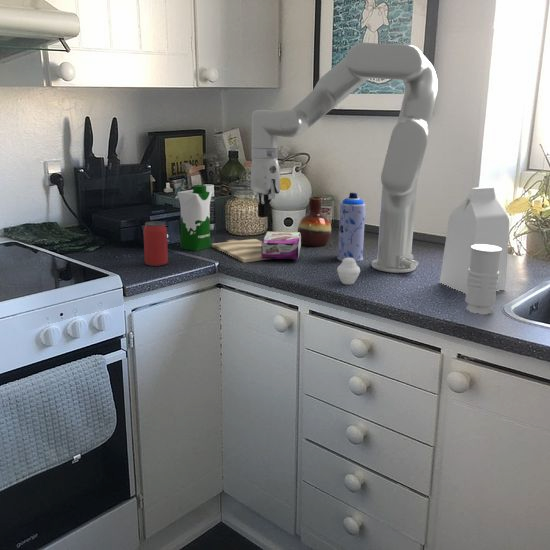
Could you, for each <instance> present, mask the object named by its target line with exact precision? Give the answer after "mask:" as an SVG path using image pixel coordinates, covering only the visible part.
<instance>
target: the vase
mask: <svg viewBox="0 0 550 550" xmlns="http://www.w3.org/2000/svg"><path fill="white" fill-rule="evenodd" d="M308 198H309V199H308V201H309V203H308V204H309V212H308V213H307V214H305V215H304V216H303V217H302V218H301V219H300V220H299V223H298V225H297V232H301V245H304V246H307V247H323V246H325V245H327V244H328V242H329V241H330V239H331V236H332V235H331V234H332V225H331V222H330V221H329V219H328V218H327V217H326V216H325V215H324V214H322V203H323V201H322V200H323V198H322V197H321V196H311V197H308Z"/></svg>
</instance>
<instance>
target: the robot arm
mask: <svg viewBox="0 0 550 550" xmlns="http://www.w3.org/2000/svg"><path fill="white" fill-rule="evenodd" d="M369 79H385V80H397V81H398V80H401V81H403V83H404V94H403V98H402V102H401V107H400V111H399V116H398V118H397V121H396V124H395V125H394V127H393V129H392V132H391V133H390V138H389V140H388V141H389V142H388V145H387V150H386V154H385V158H384V162H383V166H382V169H381V174H380V182H381V185H382V187H381V188H382V189H381V199H380V200H381V201H380V212H379V226H378V227H379V229H378V230H379V231H378V243H377V257H376V259H373V260H372V261H371V267H372V268H373V269H374V270H376V271H381V272H385V273H396V274H399V273H400V274H401V273H410V272H413V271H415V270H416V267H418V265H419V261H417V260H414V254H412V249H413V237H414V224H415V223H414V222H415V212H416V202H417V191H418V180H419V175H420V173H421V168H422V165H423V161H424V158H425V155H426V153H425V152H426V150H427V146H428V143H429V136H430V135H429V129H430V125H431V121H432V118H433V113H434V110H435V104H436V100H437V95H438V85H439V84H438V77H437V73H436V70H435V68H434V66H433V64H432V63H431V61H429V59H428V58H427V57H426V55H424V54H423V52H422V51H421V50H420V49H419V47H417V46H415V45H412V44H403V43H401V44H399V43H398V44H396V43H375V42H358V43H356V44H354V45H353V46H352V47H350V49H349V50H348V52H347V54H346V56H344V58H343V59H341V60H340V61H339V62H338V63H337V64H336V65H334V66H333V67H332V68H330V69H329V70H328V71H327V72H326V73H325V74H323V75H322V76H321V77H320V78H319V79H318V81H317V82H316V85H315V86H314V88H313V89H312V90H311V92H310V93H309V94H307V95H306V97H304V98H303V99H302V100H301V101H300V102H299V103H298V104H296V105H295V106H294V107H293V108H292V109H284V110H277V111H276V110H274V109H272V110H271V109H256V110H254V111H253V112H252V113H251V160H252V161H251V166H250V167H251V170H250V189H251V191H253V195H255V197H256V203H258V204H257V216H258V217H259V218H268V217H270V216H271V203H272V200H274V199H276V195H277V194H280V192H281V175H280V164H279V160H278V154H279V153H278V148H279V147H278V146H279V145H278V144H279V143H278V142H279V140H278V139H279V137H283V138H295V137H298V136H300V135H302V134H304V133H305V132H307V130H309V129H310V128H311V127H313V126H314V125H315V124H316V123H317V122H318V121H320V120H321V119H322V118H323V117H324V116H326V114H328V113H329V112H330V111H331V110H333V109H334V108H336V107H337V106H338V105H339V104H340V103H341V102H343V101H344V100H345V99H346V98H348V97H349V96H350V95H351V94H352V93H353V92H354V91H356V90H357V89H358V88H360V86H362V85H363V84H365V83H366V82H367V81H368V80H369Z"/></svg>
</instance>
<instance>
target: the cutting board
mask: <svg viewBox="0 0 550 550" xmlns="http://www.w3.org/2000/svg"><path fill="white" fill-rule="evenodd" d="M262 241H263V240H260V239H257V238H250V239H249V238H248V239H242V240H240V239H239V240H237V239H226V242H225V241H224V242H217V243H216V242H215V243H211V248H213V249H215V250H217V251H219V252H221V251H222V252H221V253H223V252H224V253H223V254H225V253H226V255H227V254H228V255H227V256H229V255H230V257H231V256H232V258H233V257H234V258H233V259H235V258H236V260H237V259H238V260H237V261H239V262H242V263H252V262H258V261H266V260H272V259H271V258H262V247H261V243H262Z"/></svg>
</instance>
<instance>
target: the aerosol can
mask: <svg viewBox="0 0 550 550" xmlns="http://www.w3.org/2000/svg"><path fill="white" fill-rule="evenodd" d="M365 217H366V203H365V202H364V200H363V199H362V198H360V197H359V196H358V193H356V192H349V194H348V197H346V198H344V199H343V200H342V201H341V202H340V204H339V226H338V227H339V228H338V248H337V256H336V258H337V260H338V261H341V262H342V261H343V259H345V258H349V257H350V258H353V259H354V260H355V261H356V263H357V262H362V261H363V260H364V257H363V255H364V254H363V253H364V240H365V239H364V238H365V237H364V236H365V222H366V221H365V220H366V218H365Z"/></svg>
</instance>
